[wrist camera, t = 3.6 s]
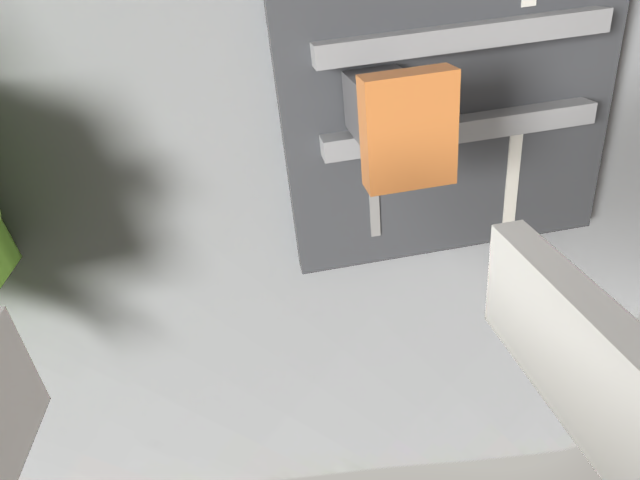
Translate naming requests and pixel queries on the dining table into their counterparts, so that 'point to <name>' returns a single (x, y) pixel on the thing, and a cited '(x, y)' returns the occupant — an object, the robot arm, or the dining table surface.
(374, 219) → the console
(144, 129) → the dining table surface
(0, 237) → the teapot
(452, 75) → the fader
